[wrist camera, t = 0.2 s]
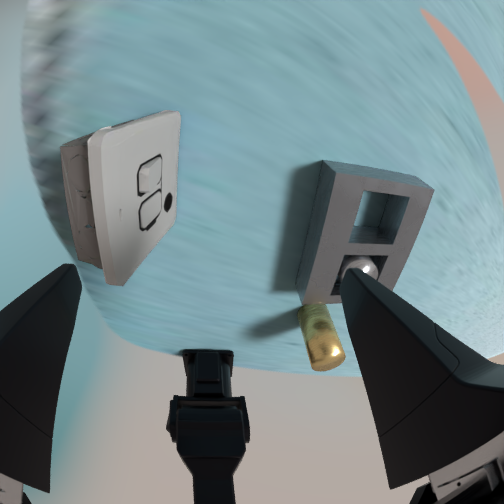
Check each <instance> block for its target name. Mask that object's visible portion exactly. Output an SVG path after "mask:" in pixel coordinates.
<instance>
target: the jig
mask: <svg viewBox="0 0 504 504" xmlns="http://www.w3.org/2000/svg"><path fill="white" fill-rule="evenodd" d="M364 190H365V191H372V192H380V193H387V194H389V198H388V201H387V204H386V207H385V210H384V213H383V216H382V219H381V222H380V225H379V228H377V227H363V226H354V222H355V219H356V215H357V212H358V209H359V205H360V201H361V198H362V194H363V191H364ZM433 192H434V189H433V188H432V187H430V186H429V185H427V184H426V183H425V182H423V181H422V180H421V179H419V178H418V177H416V176H412V175H407V174H402V173H398V172H393V171H387V170H382V169H377V168H371V167H365V166H359V165H353V164H347V163H340V162H333V161H326V160H323V162H322V167H321V172H320V177H319V182H318V187H317V192H316V197H315V201H314V206H313V211H312V215H311V220H310V224H309V229H308V233H307V237H306V242H305V246H304V250H303V254H302V259H301V263H300V267H299V271H298V275H297V279H296V283H295V285H296V288H297V291H298V294H299V297H300V300H301V303H302V305H309V304H333V303H342V300H341V296H340V285H341V283H342V282H341V280H340V278H339V276H338V272H339V269H340V266H341V263H342V260H343V257H344V255H369V257H370V258H371V260H372V261H373V263H374V264H375V266H376V267H377V269H378V277H377V279H376V280H377V281H378V282H380V283H381V284H383V285H384V286H385V287H387V288H388V289H390V290H391V291H392V290H393V288H394V286H395V284H396V282H397V280H398V278H399V276H400V274H401V272H402V270H403V268H404V265H405V263H406V261H407V259H408V257H409V254H410V252H411V250H412V247H413V245H414V243H415V240H416V238H417V235H418V233H419V231H420V228H421V225H422V223H423V220H424V218H425V215H426V212H427V210H428V207H429V204H430V201H431V198H432V195H433Z"/></svg>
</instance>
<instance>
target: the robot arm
mask: <svg viewBox="0 0 504 504" xmlns="http://www.w3.org/2000/svg"><path fill="white" fill-rule="evenodd" d="M81 291H82V284H81V280H80V277H79V274H78V271H77V268H76V266H75V265H74V264H63V265H61V266H60V267H58V268H57V269H55V270H54V271H52V272H51V273H50V274H48V275H47V276H45V277H44V278H43V279H41V280H40V281H39V282H37V283H36V284H34V285H33V286H32V287H31V288H29V289H28V290H27V291H25V292H24V293H23V294H21V295H20V296H19V297H17V298H16V299H15V300H14V301H12V302H11V303H10V304H8V305H7V306H6V307H5V308H4V309H2V310H1V311H0V504H31V502H30V500H29V499H28V497H27V496H26V494H25V493H24V492H23V484H26V485H28V486H31V487H33V488H36V489H38V490H41V491H44V492H47V493H50V468H51V451H52V438H53V429H54V421H55V414H56V407H57V401H58V395H59V390H60V384H61V380H62V375H63V370H64V366H65V361H66V357H67V352H68V349H69V345H70V341H71V337H72V334H73V330H74V325H75V320H76V315H77V310H78V305H79V300H80V295H81ZM340 296H341V300H342V305H343V309H344V314H345V319H346V324H347V328H348V332H349V335H350V338H351V342H352V345H353V348H354V351H355V354H356V357H357V361H358V364H359V367H360V371H361V374H362V377H363V381H364V384H365V388H366V391H367V395H368V399H369V402H370V406H371V410H372V414H373V417H374V421H375V425H376V429H377V433H378V437H379V442H380V447H381V451H382V455H383V460H384V464H385V469H386V473H387V479H388V484H389V488H390V489H394V488H397V487H400V486H402V485H405V484H407V483H410V482H412V481H415V480H417V479H420V478H422V477H424V476H427V475H428V477H429V480H430V482H428V483H426V484H424V485H422V486H421V487H419V488H417V489H416V491H415V493H414V495H413V497H412V500H411V501H410V504H504V365H500V364H496V363H493V362H491V361H489V360H487V359H486V358H484V357H483V356H481V355H480V354H479V353H477V352H476V351H474V350H473V349H471V348H470V347H468V346H467V345H465V344H464V343H462V342H461V341H459V340H458V339H457V338H455V337H454V336H452V335H451V334H450V333H448V332H447V331H445V330H444V329H443V328H441V327H440V326H439V325H438V324H436V323H434V322H433V321H432V320H431V319H430V318H428V317H427V316H425V315H424V314H423V313H421V312H420V311H419V310H417V309H416V308H415V307H413V306H412V305H411V304H409V303H408V302H406V301H405V300H404V299H402V298H401V297H399V296H398V295H397V294H395V293H394V292H392V291H391V290H390V289H388V288H387V287H385V286H384V285H383V284H381V283H380V282H378V281H377V280H375V279H374V278H373V277H371V276H370V275H368V274H367V273H365V272H364V271H362V270H361V269H359V268H348V269H347V270H346V272H345V274H344V277H343V280H342V283H341V285H340ZM182 355H183V361H184V367H185V372H186V376H187V388H186V396H178V395H174V397H173V400H171V401H170V411H169V416H168V421H167V425H166V430H167V431H168V432H169V433H170V435H171V437H172V442H174V443H176V444H177V451H178V453H179V455H180V457H181V459H182V461H183V463H184V464H185V465H186V467H187V469H188V470H189V471H190V473H191V474H192V476H193V491H194V504H236V502H235V494H234V484H233V475H234V473H235V471H236V470H237V468H238V466H239V464H240V463H241V461H242V458H243V456H244V453H245V451H246V445H245V443H249V441H250V426H249V419H248V413H247V408H246V402H245V397H244V396H240V397H232V392H231V378H230V377H232V368H233V357H234V354H233V351H193V350H184V351H183V354H182Z"/></svg>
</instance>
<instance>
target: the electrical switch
mask: <svg viewBox="0 0 504 504" xmlns="http://www.w3.org/2000/svg"><path fill="white" fill-rule="evenodd" d="M180 124H181V115H180V113H179V111H171V110H165V111H162V112H160V113H156V114H153V115H149V116H146V117H143V118H140V119H137V120H131V121H128V122H124V123H121V124H118V125H115V126H112V127H111V126H109V127H105V128H101V129H100V130H98V131H96V132H94V133H91V134H89V135H86V136H83V137H81V138H78V139H75V140H73V141H70V142H68V143H66V144H63V145H68V146H61V147H60V150H61V162H62V172H63V181H64V188H65V195H66V202H67V208H68V214H69V219H70V225H71V230H72V235H73V239H74V244H75V248H76V252H77V256H78V260H80V261H84V262H87V263H90V264H93V265H94V266H96V267H97V268H100V269H103V271H104V276H105V281H106V283H107V284H110V285H116V286H124V284H125V283H126V282H127V280H128V279H129V278H130V277H131V275H132V274H133V273H134V272H135V270H136V269H137V268H138V267H139V265H140V264H141V263H142V262H143V260H144V259H145V258H146V257H147V255H148V254H149V253H150V252H151V251H152V249H153V248H154V247H155V246H156V245H157V243H158V242H159V241H160V240H161V239H162V237H163V236H164V235H165V234H166V233H167V232H168V230H169V229H170V228H171V227H172V226H173V225H174V222H175V219H176V203H177V172H178V153H179V137H180ZM74 156H75V157H74ZM71 158H72V159H71ZM87 159H88V160H87ZM67 172H68V174H67ZM90 188H91V190H90ZM78 190H79V191H78ZM88 224H89V225H90V226H91V227H93V228H94V229H93V228H87V227H85V226H86V225H88ZM79 232H80V233H79ZM94 232H95V233H94ZM80 246H81V247H80Z"/></svg>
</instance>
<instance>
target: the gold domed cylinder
mask: <svg viewBox="0 0 504 504" xmlns="http://www.w3.org/2000/svg"><path fill="white" fill-rule="evenodd" d="M297 317H298V321H299V324H300V328H301V331H302V335H303V338H304V342H305V345H306V349H307V352H308V356H309V360H310V363H311V367H312V369H313V370H315V371H327V370H331V369H333V368H335V367H337V366H339V365H340V364H341V363H343V361H344V360H345V357H346V356H345V353H344V350H343V348H342V345H341V342H340V340H339V337H338V334H337V332H336V329H335V327H334V324H333V321H332V319H331V316H330V314H329V311H328V309H327V306H326V305H325V304H309V305H304V306H302V307H301V308H300V309H299V311H298V313H297Z"/></svg>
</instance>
